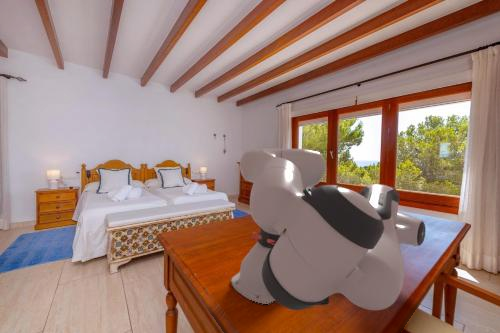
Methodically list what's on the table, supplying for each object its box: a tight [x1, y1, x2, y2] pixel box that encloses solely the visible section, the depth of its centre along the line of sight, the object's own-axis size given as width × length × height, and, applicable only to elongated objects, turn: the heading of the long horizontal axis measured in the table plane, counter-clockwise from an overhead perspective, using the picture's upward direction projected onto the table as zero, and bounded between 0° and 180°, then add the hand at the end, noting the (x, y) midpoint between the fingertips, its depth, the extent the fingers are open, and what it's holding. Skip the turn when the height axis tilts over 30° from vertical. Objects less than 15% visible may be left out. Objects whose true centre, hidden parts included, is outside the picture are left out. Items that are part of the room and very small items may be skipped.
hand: (337, 209), depth 86 cm, fingers closed on birch block, 5 cm apart
